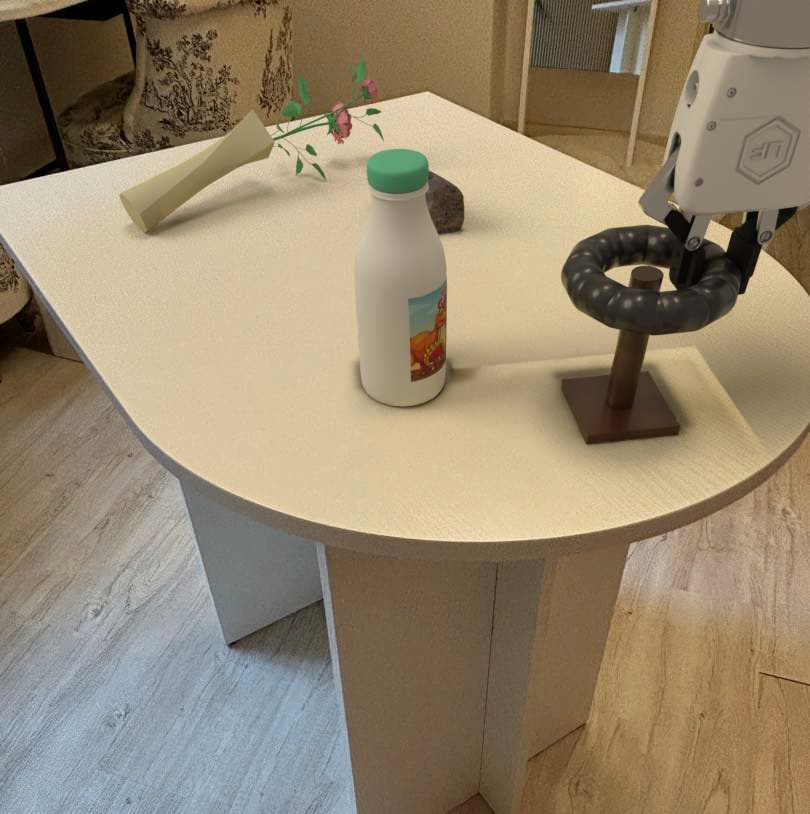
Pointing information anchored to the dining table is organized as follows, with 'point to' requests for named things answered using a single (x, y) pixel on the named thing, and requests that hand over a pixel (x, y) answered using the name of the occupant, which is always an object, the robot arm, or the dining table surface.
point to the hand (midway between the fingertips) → (707, 286)
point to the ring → (645, 306)
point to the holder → (623, 388)
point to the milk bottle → (400, 285)
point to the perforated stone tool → (444, 204)
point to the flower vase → (236, 156)
